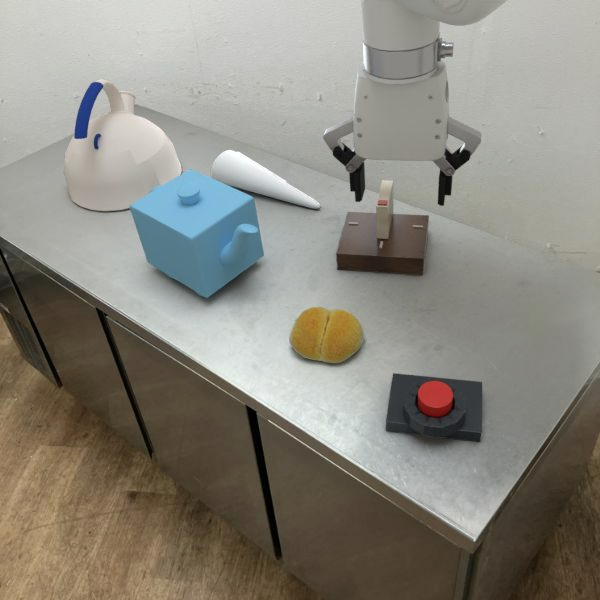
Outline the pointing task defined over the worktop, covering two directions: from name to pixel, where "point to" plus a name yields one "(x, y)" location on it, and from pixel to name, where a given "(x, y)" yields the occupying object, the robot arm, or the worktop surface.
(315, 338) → the bread roll
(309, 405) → the worktop surface
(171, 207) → the teapot
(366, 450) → the worktop surface
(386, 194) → the handle
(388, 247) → the panel
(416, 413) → the button block
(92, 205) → the kettle
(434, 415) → the button
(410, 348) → the worktop surface
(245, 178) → the long cone
